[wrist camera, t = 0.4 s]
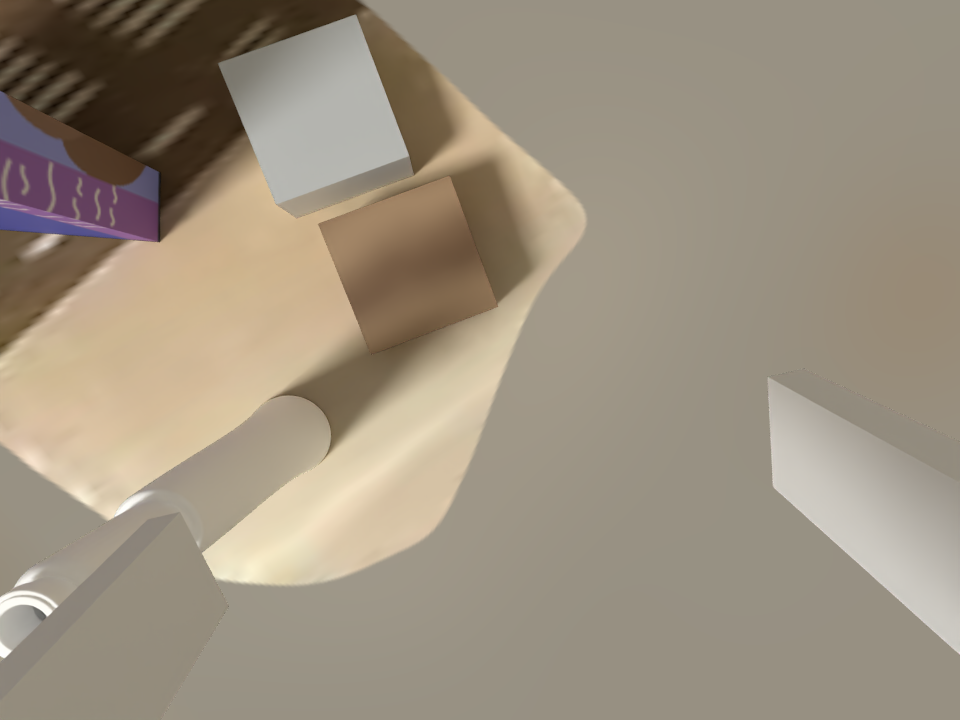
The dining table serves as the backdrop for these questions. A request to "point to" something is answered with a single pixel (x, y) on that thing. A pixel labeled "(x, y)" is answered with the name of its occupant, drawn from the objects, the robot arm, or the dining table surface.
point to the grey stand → (318, 117)
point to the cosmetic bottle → (181, 504)
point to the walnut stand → (409, 264)
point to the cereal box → (71, 181)
